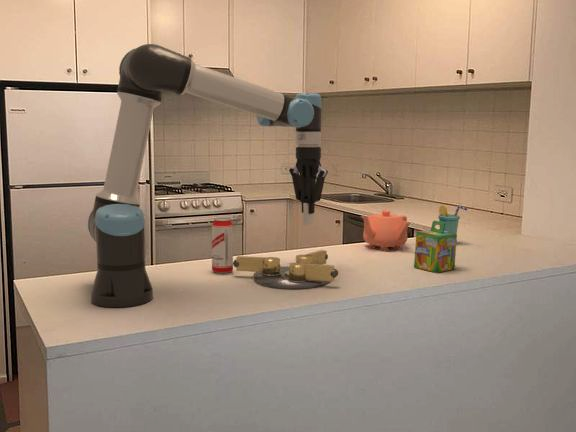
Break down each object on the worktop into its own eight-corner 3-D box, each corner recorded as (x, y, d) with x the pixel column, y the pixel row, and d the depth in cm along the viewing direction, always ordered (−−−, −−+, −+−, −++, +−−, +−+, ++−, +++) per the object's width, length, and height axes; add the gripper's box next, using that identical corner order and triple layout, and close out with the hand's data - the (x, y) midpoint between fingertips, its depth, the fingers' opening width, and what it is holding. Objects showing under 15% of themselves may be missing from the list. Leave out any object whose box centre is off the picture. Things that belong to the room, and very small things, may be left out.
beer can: (222, 268, 195) (222, 216, 192) (237, 271, 191) (237, 219, 188) (207, 272, 190) (207, 219, 187) (222, 275, 186) (222, 221, 183)
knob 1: (281, 270, 185) (281, 256, 185) (278, 274, 181) (278, 260, 180) (235, 268, 187) (235, 254, 187) (231, 272, 182) (231, 258, 182)
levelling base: (278, 293, 168) (278, 284, 167) (239, 275, 186) (239, 267, 186) (345, 283, 179) (345, 274, 179) (303, 267, 198) (303, 259, 197)
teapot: (408, 253, 219) (410, 214, 217) (359, 251, 222) (360, 213, 220) (406, 244, 235) (407, 208, 233) (360, 242, 237) (360, 207, 235)
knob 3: (287, 280, 175) (287, 265, 174) (291, 275, 180) (291, 261, 179) (336, 283, 172) (336, 268, 171) (339, 279, 177) (339, 264, 176)
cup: (471, 246, 232) (473, 205, 230) (457, 248, 228) (459, 207, 225) (442, 240, 244) (444, 201, 241) (428, 242, 239) (429, 202, 237)
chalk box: (413, 268, 198) (415, 221, 196) (432, 264, 204) (434, 218, 202) (437, 273, 191) (439, 225, 189) (456, 269, 197) (458, 222, 195)
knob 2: (306, 272, 184) (306, 258, 183) (292, 269, 187) (292, 255, 186) (332, 264, 194) (333, 250, 194) (319, 261, 197) (319, 248, 197)
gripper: (283, 145, 191) (283, 223, 195) (318, 147, 183) (318, 228, 187) (298, 144, 197) (298, 220, 200) (333, 146, 189) (332, 224, 193)
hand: (307, 224), depth 194 cm, fingers closed
